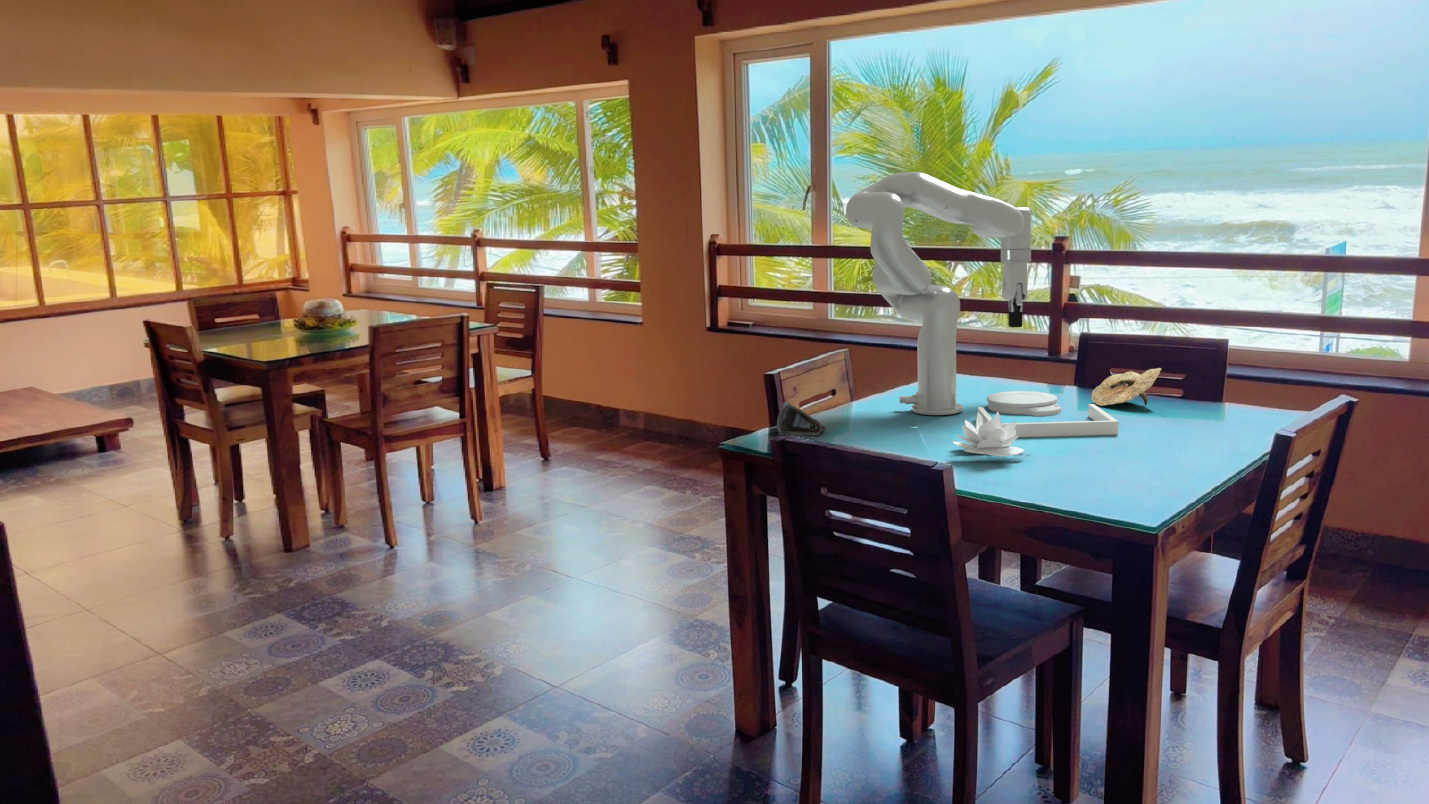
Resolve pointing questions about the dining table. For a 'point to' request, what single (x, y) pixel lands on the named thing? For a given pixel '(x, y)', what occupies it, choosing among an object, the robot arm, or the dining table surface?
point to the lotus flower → (989, 437)
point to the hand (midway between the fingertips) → (1015, 326)
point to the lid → (1024, 403)
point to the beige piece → (1124, 387)
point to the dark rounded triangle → (797, 421)
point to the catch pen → (1066, 425)
